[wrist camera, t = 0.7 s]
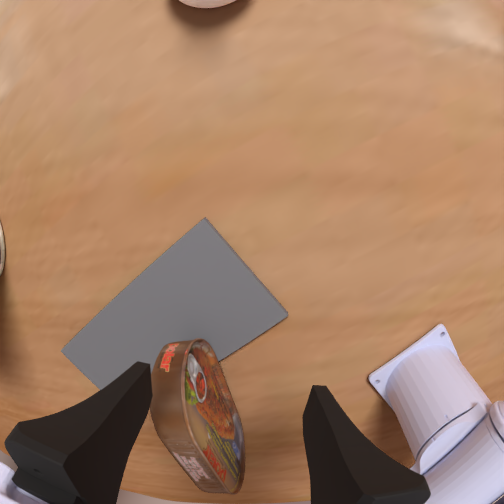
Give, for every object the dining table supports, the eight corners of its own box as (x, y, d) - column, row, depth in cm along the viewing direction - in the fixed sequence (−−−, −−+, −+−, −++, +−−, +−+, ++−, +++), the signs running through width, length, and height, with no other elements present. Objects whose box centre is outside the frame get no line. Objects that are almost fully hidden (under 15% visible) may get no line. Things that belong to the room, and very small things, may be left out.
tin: (247, 437, 27) (248, 508, 19) (217, 439, 27) (211, 510, 20) (202, 313, 22) (183, 399, 14) (162, 320, 22) (129, 402, 14)
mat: (287, 312, 23) (288, 315, 22) (130, 410, 27) (128, 414, 26) (205, 217, 21) (204, 218, 20) (63, 348, 25) (60, 350, 24)
